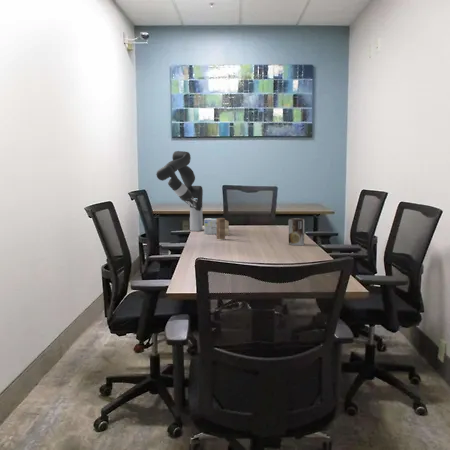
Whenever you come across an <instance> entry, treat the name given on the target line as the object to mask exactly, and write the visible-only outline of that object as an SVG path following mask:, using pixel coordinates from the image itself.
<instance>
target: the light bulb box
mask: <svg viewBox="0 0 450 450" xmlns="http://www.w3.org/2000/svg"><path fill="white" fill-rule="evenodd" d="M203 230H204V232H203V234H204V235H217V224H216V218H215V217H212V218H210V217H209V218H208V217H207V218H204V219H203Z"/></svg>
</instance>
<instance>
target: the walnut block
mask: <svg viewBox="0 0 450 450" xmlns="http://www.w3.org/2000/svg"><path fill="white" fill-rule="evenodd" d="M225 220H226V218H224V217H217V218H216V224H217V234H216V240H218V241H219V240H220V241H222V240H226V236H225Z"/></svg>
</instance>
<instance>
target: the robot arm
mask: <svg viewBox="0 0 450 450" xmlns="http://www.w3.org/2000/svg"><path fill="white" fill-rule="evenodd" d="M171 158H172V160H170V161H169V162H168V163H166V164H165V165H164V166H162V167H160V168H159V169H158V170H157V171H156V174H155V175H156V178H157V180H159V181H165V180H167V179H169V178H170V179H169V180H168V182H167V184H168V187H170V188H171V189H172V190H173V192H174V193H175V195H176V196H178V197H179V199H180V200H181V201H183V202H185V203H186V204H187V205H188V206H189V231H192V232H201V231H202V232H203V230H204V219H203V217H204V216H203V195H204V194H203V193H204V190H203V186H202V185H193V184H194V182H195V180H196V175H195V173H194V171H193V169H192V168H191V167H189V166H188V165H190V162H191V159H192V158H191V154H190V152H189V151H184V150H183V151H181V150H176V151H174V152H173V153H172V157H171ZM177 171H178V173H179V175H180V178H181V180H182V181H181V180H180V179H179V177H178V176H177V174H176V172H177Z"/></svg>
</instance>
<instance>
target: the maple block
mask: <svg viewBox="0 0 450 450" xmlns="http://www.w3.org/2000/svg"><path fill="white" fill-rule="evenodd" d="M229 224H230V223H229V220H226V219H225V237H226V236H229V235H230V234H229V229H230V228H229Z"/></svg>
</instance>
